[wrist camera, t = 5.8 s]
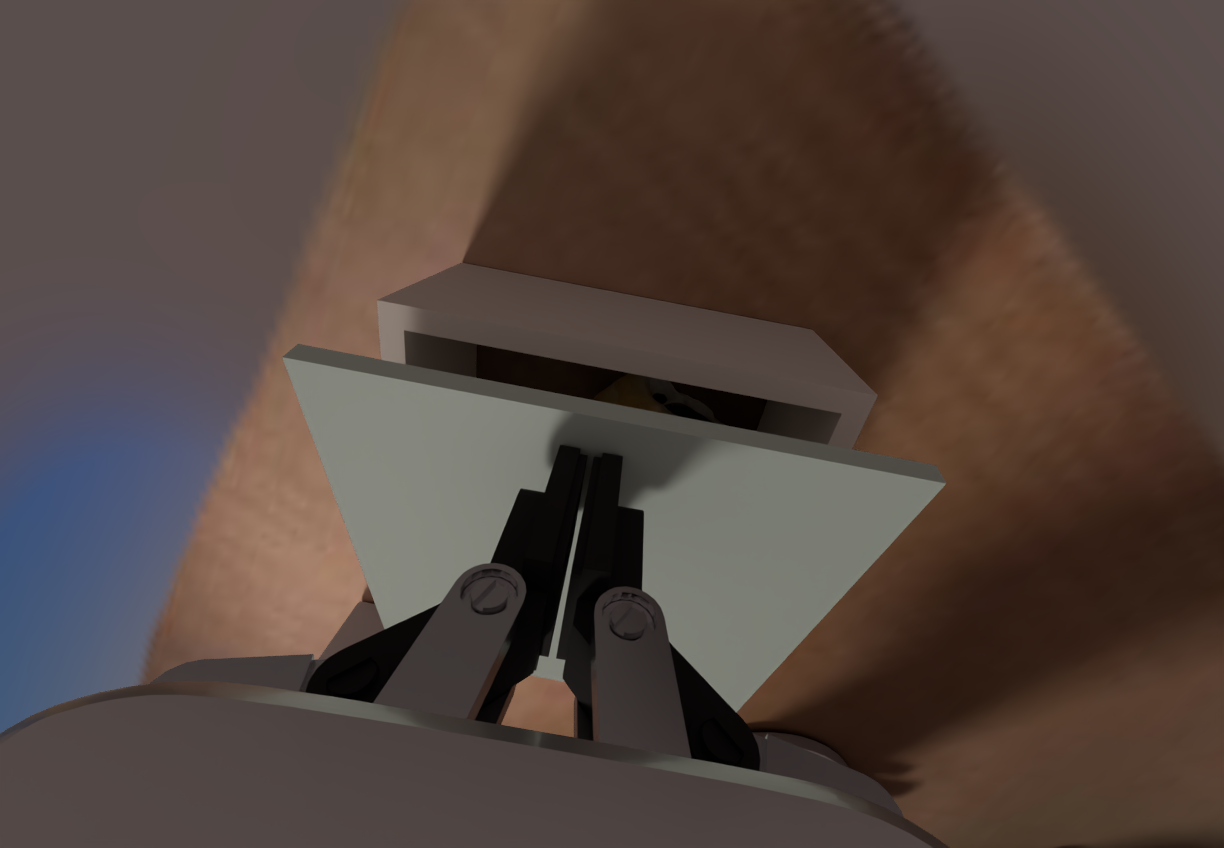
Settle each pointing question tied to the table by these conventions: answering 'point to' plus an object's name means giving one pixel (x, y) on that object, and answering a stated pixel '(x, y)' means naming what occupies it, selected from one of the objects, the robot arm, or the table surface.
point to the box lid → (650, 481)
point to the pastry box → (628, 344)
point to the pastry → (654, 398)
